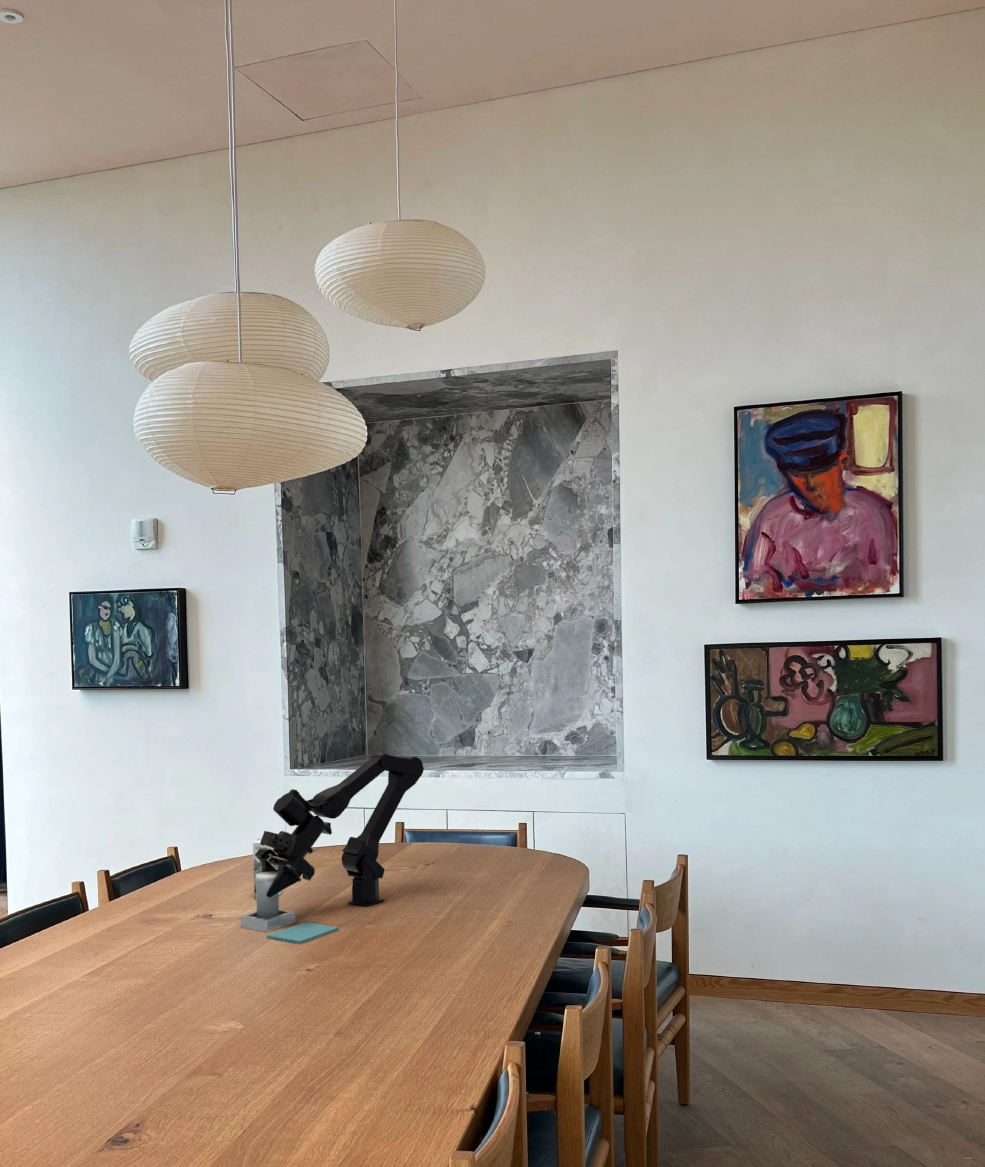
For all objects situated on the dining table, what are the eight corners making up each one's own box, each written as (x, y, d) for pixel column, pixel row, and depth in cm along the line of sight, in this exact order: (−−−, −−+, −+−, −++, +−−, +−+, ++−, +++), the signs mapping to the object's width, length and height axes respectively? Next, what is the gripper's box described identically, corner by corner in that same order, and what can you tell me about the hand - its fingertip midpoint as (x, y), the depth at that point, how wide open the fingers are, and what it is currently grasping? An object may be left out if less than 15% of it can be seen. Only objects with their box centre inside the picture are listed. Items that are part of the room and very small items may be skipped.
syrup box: (282, 893, 258) (281, 837, 259) (275, 899, 252) (273, 841, 253) (261, 894, 259) (259, 837, 260) (253, 899, 253) (252, 841, 254)
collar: (268, 918, 233) (268, 907, 233) (295, 922, 228) (294, 911, 229) (240, 927, 226) (240, 916, 226) (267, 931, 221) (267, 920, 221)
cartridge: (268, 921, 231) (267, 870, 232) (283, 923, 228) (282, 872, 229) (252, 926, 227) (251, 875, 227) (267, 929, 224) (266, 877, 225)
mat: (306, 924, 226) (305, 922, 226) (338, 930, 221) (338, 927, 221) (266, 938, 216) (266, 935, 216) (300, 944, 211) (300, 941, 211)
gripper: (261, 813, 239) (219, 867, 230) (301, 821, 225) (258, 879, 217) (291, 841, 243) (251, 896, 235) (332, 851, 229) (291, 909, 221)
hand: (261, 894), depth 227 cm, fingers closed on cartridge, 5 cm apart
